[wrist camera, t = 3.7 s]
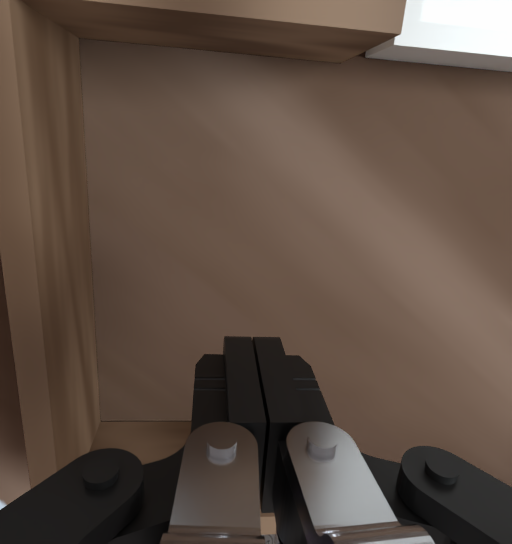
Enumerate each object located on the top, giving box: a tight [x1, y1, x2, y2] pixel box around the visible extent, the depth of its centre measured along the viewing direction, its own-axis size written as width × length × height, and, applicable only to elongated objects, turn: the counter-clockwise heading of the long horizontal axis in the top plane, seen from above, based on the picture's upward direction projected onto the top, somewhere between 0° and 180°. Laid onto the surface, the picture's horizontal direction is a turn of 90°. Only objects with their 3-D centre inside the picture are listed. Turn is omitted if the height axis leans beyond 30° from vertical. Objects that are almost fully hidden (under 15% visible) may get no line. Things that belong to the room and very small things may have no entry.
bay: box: [0, 0, 407, 535], centre depth 17 cm, size 12×20×6 cm, turn 176°
